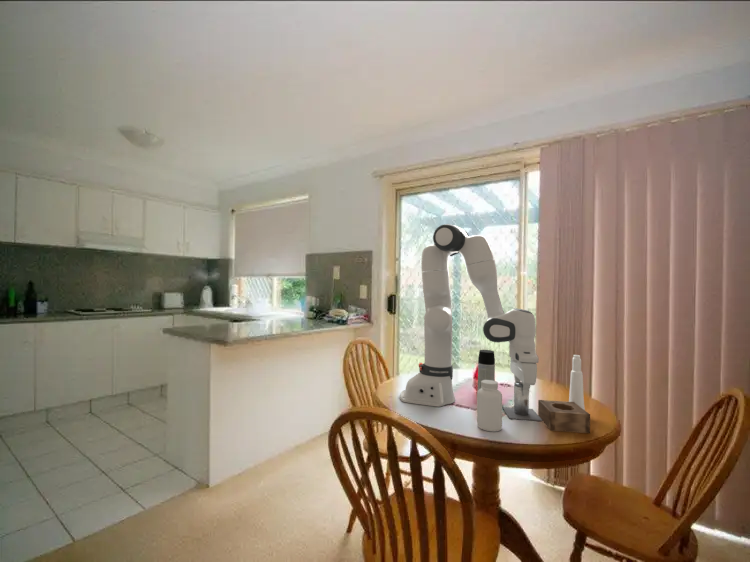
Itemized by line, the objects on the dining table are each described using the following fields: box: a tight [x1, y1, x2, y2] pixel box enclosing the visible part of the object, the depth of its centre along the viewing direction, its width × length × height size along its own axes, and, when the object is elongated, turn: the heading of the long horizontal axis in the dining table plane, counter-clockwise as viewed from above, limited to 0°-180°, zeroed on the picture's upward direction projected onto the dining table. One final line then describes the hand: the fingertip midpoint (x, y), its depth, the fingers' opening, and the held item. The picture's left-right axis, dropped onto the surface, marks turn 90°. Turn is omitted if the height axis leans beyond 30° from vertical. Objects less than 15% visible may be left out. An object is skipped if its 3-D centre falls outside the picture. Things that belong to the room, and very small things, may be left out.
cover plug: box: [513, 381, 530, 416], centre depth 124 cm, size 5×5×11 cm
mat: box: [502, 406, 543, 422], centre depth 124 cm, size 11×11×1 cm
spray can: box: [477, 349, 496, 391], centre depth 141 cm, size 7×7×20 cm
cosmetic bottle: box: [568, 354, 586, 411], centre depth 125 cm, size 6×6×22 cm
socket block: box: [537, 399, 591, 434], centre depth 116 cm, size 12×12×6 cm
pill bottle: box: [476, 380, 503, 432], centre depth 113 cm, size 8×8×15 cm
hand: (521, 390), depth 124 cm, fingers open, 8 cm apart
